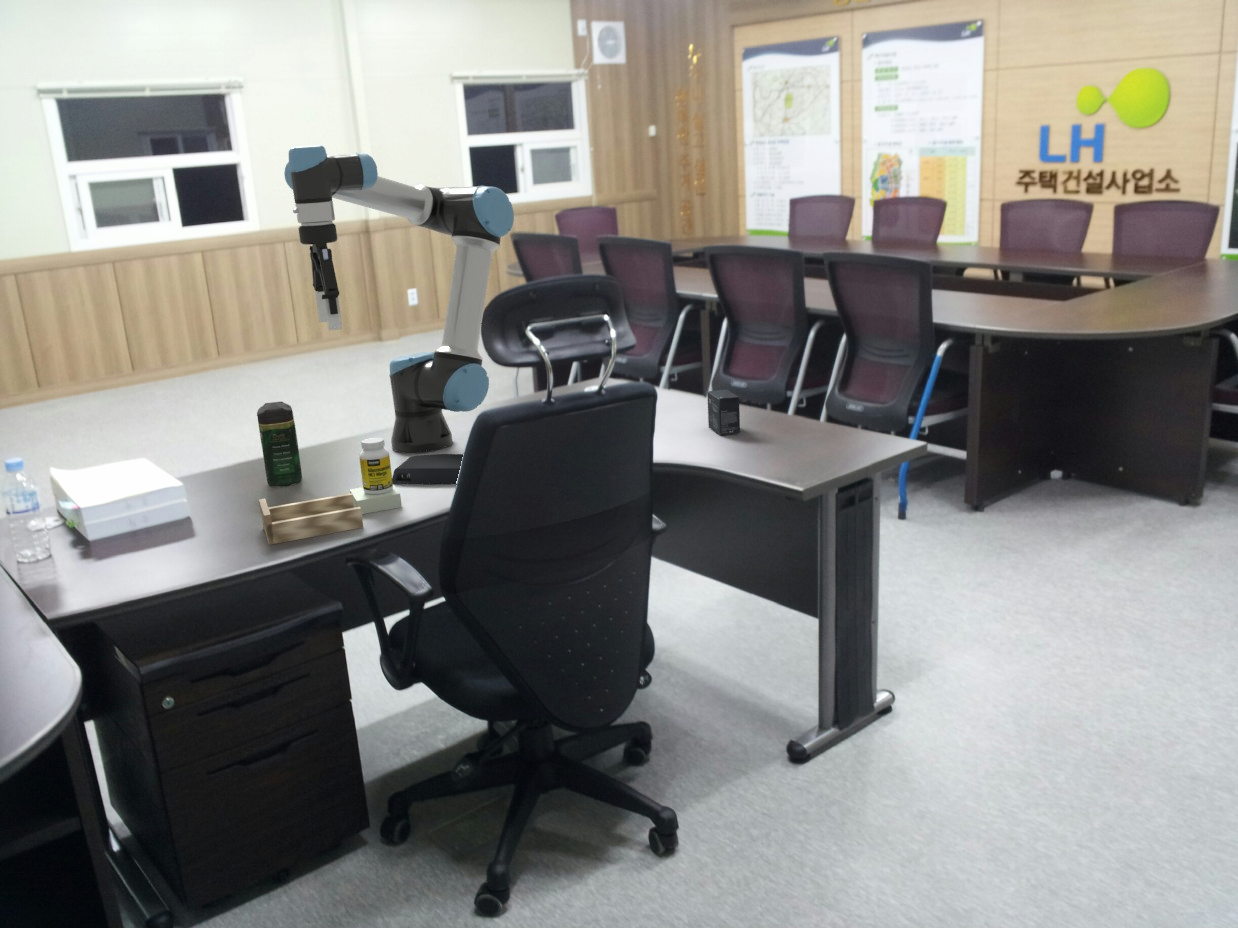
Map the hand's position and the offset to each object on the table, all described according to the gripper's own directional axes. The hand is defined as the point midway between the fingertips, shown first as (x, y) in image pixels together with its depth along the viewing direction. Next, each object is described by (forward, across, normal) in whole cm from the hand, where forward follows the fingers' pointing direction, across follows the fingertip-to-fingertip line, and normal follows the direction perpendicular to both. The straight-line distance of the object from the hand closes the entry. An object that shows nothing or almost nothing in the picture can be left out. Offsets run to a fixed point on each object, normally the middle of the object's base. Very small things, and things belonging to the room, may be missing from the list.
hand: (330, 325), depth 230 cm
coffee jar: (+37, -15, -13) cm, 42 cm away
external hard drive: (+37, +1, +20) cm, 42 cm away
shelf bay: (+37, +21, -11) cm, 44 cm away
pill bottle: (+34, +14, +3) cm, 37 cm away
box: (+37, +4, +91) cm, 98 cm away
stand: (+37, +14, +2) cm, 39 cm away
